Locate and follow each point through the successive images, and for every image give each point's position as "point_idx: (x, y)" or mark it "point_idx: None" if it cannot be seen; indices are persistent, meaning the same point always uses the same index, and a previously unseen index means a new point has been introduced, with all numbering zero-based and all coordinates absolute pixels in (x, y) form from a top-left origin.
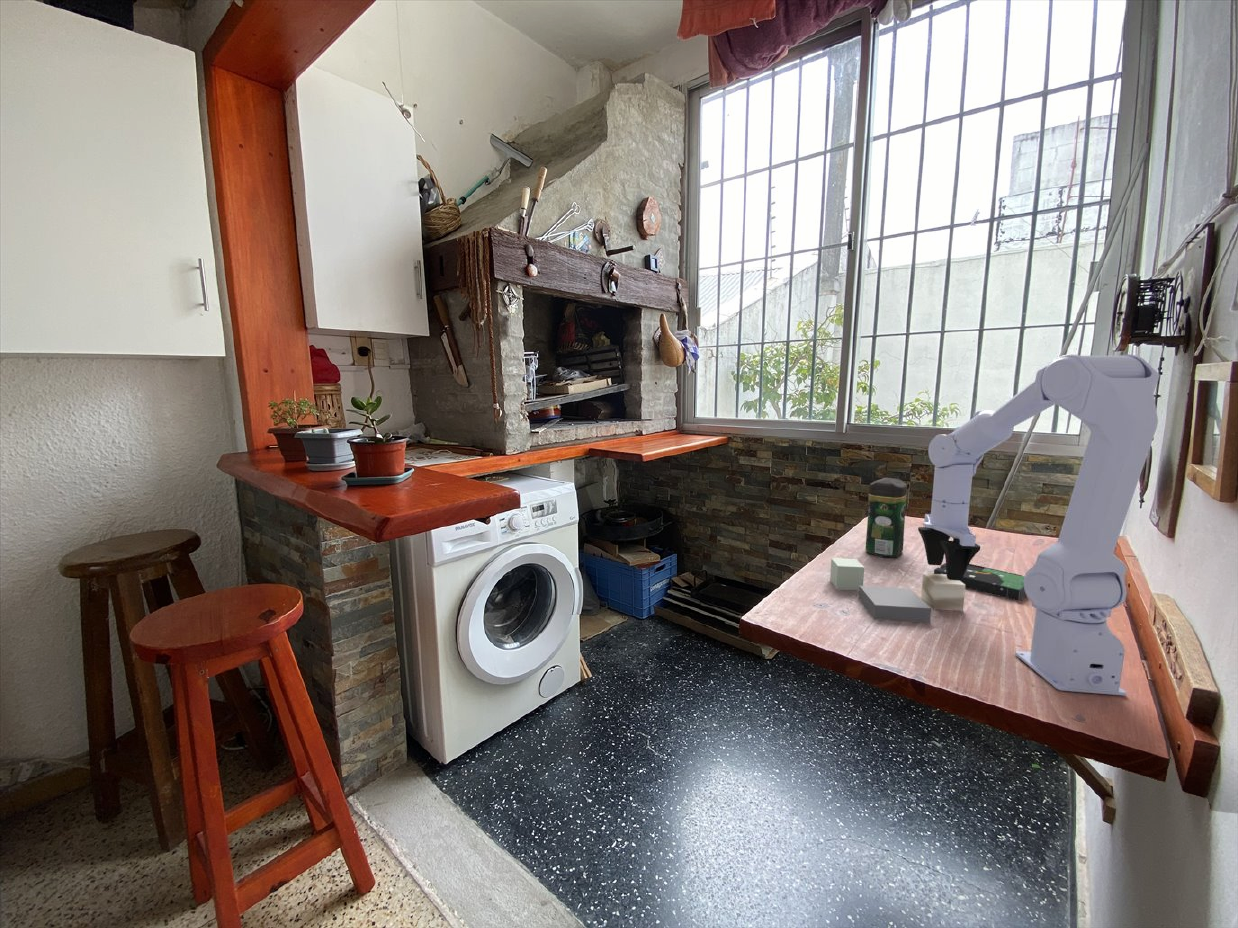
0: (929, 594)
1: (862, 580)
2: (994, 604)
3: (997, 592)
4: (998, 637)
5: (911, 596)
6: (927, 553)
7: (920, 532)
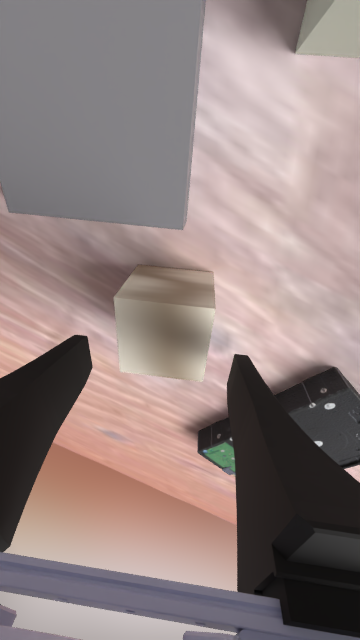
0: (160, 278)
1: (315, 20)
2: (179, 393)
3: (224, 425)
4: (16, 316)
5: (98, 192)
6: (247, 383)
7: (348, 493)
